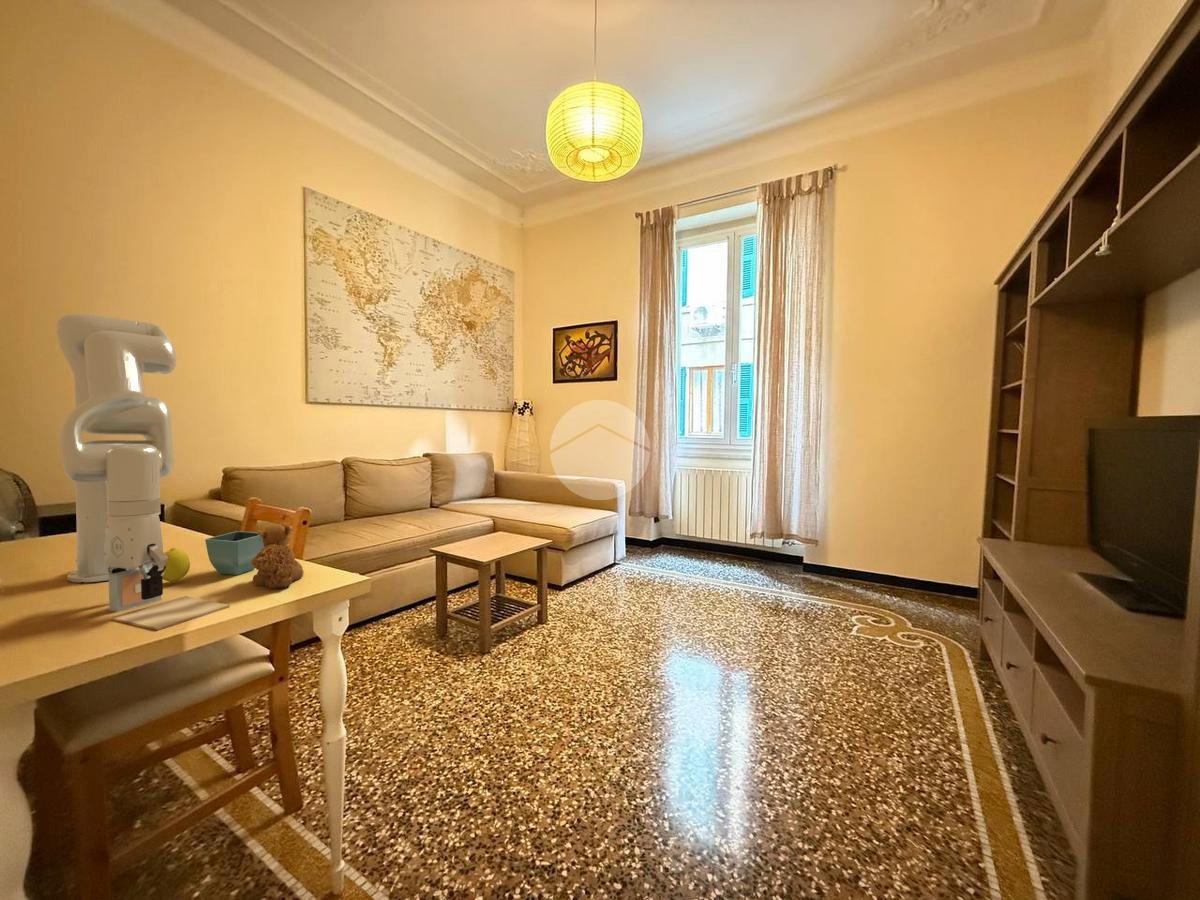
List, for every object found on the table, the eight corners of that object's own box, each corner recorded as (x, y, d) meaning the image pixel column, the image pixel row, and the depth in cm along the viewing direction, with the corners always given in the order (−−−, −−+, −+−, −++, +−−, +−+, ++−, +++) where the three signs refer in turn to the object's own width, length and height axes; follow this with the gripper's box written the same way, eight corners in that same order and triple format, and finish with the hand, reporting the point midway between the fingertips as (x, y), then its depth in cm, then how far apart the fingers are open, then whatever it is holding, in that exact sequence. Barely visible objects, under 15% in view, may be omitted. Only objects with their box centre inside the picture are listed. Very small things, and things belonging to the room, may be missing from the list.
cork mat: (111, 619, 88) (111, 617, 88) (185, 597, 99) (185, 596, 99) (157, 630, 83) (157, 628, 83) (229, 606, 95) (229, 604, 95)
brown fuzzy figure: (303, 572, 118) (303, 519, 117) (303, 589, 106) (303, 531, 105) (253, 578, 113) (253, 523, 112) (247, 597, 101) (247, 535, 100)
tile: (109, 610, 92) (108, 574, 92) (153, 598, 98) (152, 565, 98) (118, 612, 91) (117, 576, 91) (161, 600, 98) (161, 566, 97)
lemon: (170, 588, 104) (170, 552, 104) (150, 585, 106) (150, 550, 105) (196, 580, 110) (196, 546, 110) (177, 578, 111) (176, 544, 111)
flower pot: (235, 579, 112) (235, 541, 111) (204, 576, 113) (203, 538, 113) (268, 568, 120) (267, 533, 120) (238, 565, 122) (237, 530, 122)
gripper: (82, 508, 93) (84, 595, 94) (139, 514, 88) (140, 606, 88) (130, 503, 100) (132, 583, 101) (185, 508, 95) (187, 593, 95)
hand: (136, 594), depth 94 cm, fingers open, 9 cm apart
